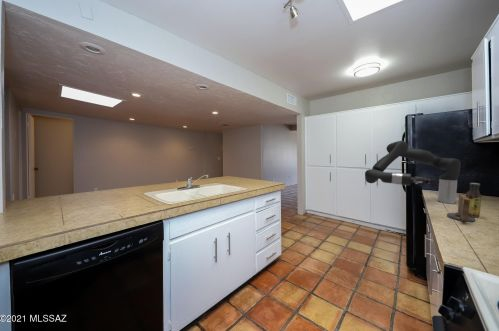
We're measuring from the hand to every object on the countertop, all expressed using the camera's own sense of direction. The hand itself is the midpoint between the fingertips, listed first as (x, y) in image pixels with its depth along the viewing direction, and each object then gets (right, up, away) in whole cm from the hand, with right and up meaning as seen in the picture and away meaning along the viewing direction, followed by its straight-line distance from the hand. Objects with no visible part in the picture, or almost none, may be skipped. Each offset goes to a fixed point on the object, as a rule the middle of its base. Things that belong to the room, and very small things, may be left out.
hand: (438, 182), depth 109 cm
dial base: (+12, -21, 0) cm, 25 cm away
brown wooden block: (+9, -20, -4) cm, 22 cm away
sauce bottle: (+23, -21, +3) cm, 31 cm away
